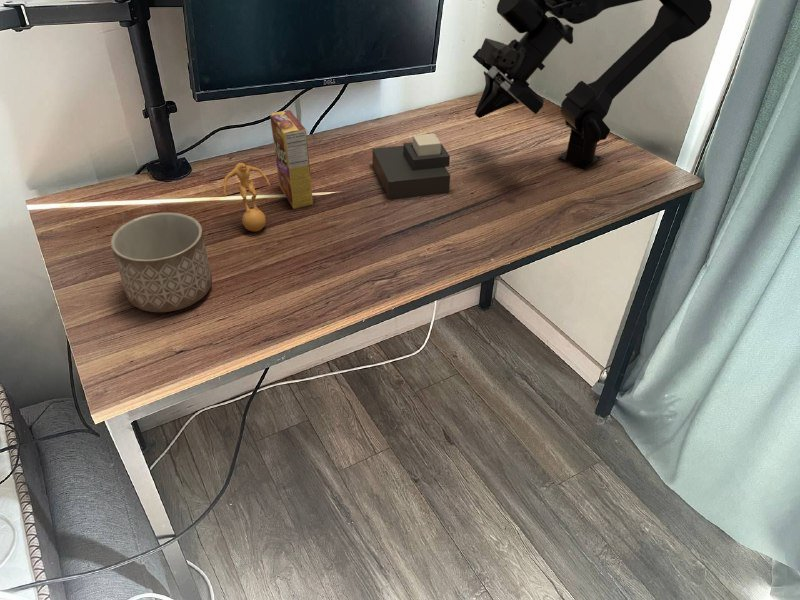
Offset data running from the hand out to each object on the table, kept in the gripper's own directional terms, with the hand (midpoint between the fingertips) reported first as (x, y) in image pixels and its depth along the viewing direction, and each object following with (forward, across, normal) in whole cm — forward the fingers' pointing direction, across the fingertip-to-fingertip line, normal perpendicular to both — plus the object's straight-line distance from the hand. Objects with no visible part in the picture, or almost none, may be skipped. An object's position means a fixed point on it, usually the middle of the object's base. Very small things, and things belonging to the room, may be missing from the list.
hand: (476, 116), depth 125 cm
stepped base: (+18, -1, -2) cm, 18 cm away
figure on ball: (+38, +6, -27) cm, 47 cm away
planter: (+47, +19, -40) cm, 65 cm away
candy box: (+32, -2, -20) cm, 38 cm away
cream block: (+11, -1, -3) cm, 12 cm away
